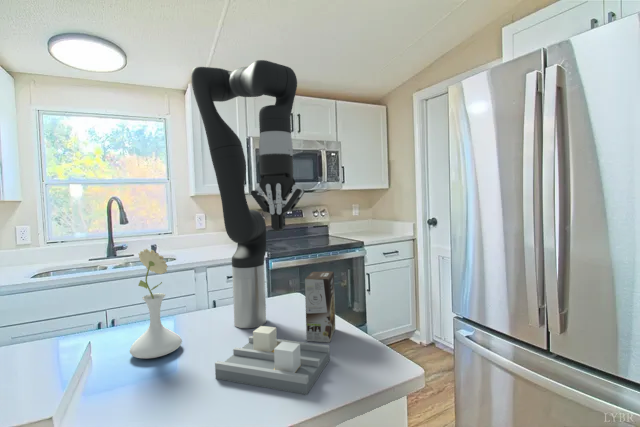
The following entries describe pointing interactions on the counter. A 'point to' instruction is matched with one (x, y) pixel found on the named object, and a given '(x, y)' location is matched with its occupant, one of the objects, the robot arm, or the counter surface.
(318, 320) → the coffee box
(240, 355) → the grey ridged tray
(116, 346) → the counter surface
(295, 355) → the pale grey cube
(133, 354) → the flower in vase
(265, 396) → the counter surface
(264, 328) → the cream cube
